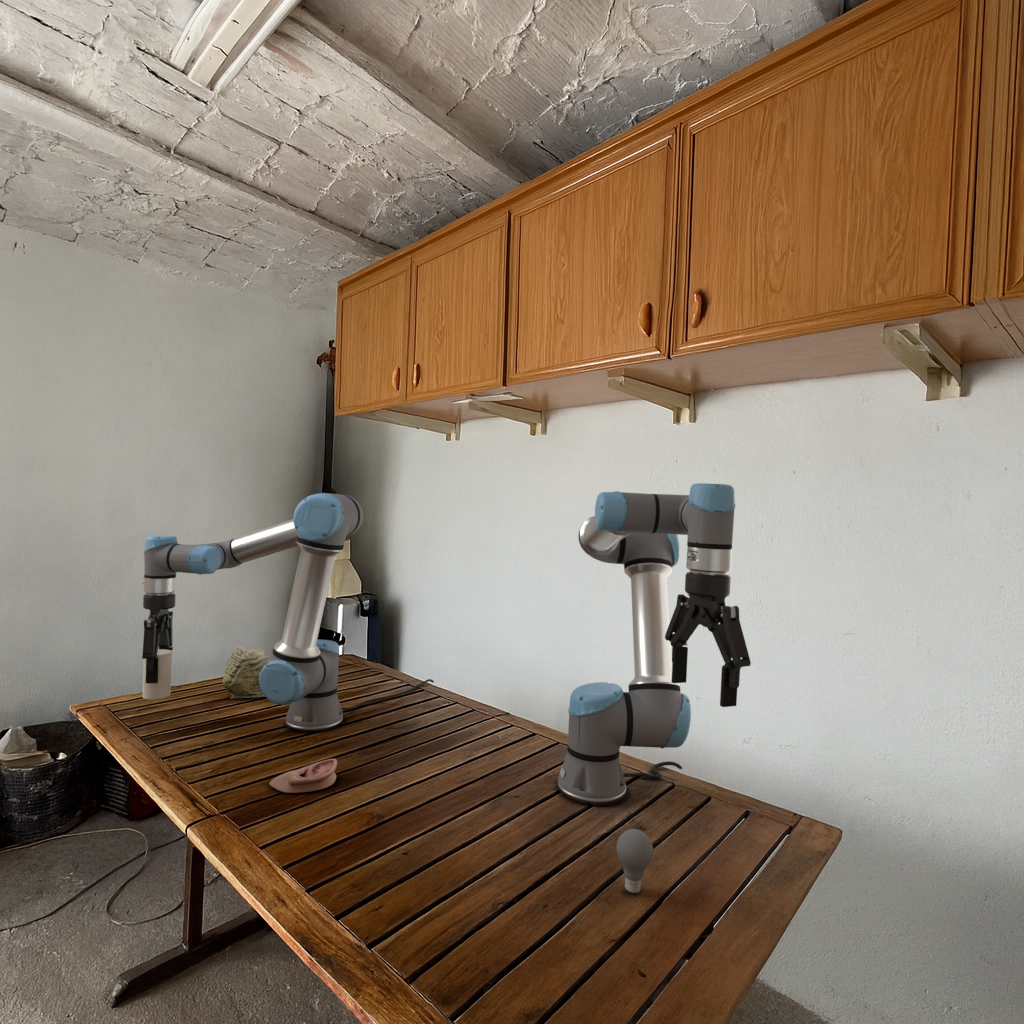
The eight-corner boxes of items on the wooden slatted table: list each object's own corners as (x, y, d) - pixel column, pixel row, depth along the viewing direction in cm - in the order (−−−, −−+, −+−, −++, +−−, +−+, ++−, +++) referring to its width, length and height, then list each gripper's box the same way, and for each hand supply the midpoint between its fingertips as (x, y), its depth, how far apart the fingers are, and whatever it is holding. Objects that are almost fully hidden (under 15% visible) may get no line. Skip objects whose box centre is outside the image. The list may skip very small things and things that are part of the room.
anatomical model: (261, 770, 135) (291, 750, 147) (261, 789, 136) (290, 767, 147) (318, 779, 133) (344, 757, 144) (318, 797, 133) (343, 775, 144)
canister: (148, 692, 172) (149, 649, 172) (174, 691, 174) (175, 649, 173) (138, 699, 166) (139, 655, 166) (165, 699, 167) (166, 655, 167)
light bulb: (610, 879, 108) (613, 822, 108) (644, 879, 109) (647, 822, 109) (619, 902, 102) (622, 840, 102) (655, 901, 103) (658, 840, 103)
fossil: (218, 695, 195) (220, 647, 195) (278, 685, 208) (279, 640, 207) (228, 703, 189) (230, 653, 188) (289, 692, 201) (290, 645, 201)
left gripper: (158, 587, 178) (156, 669, 179) (128, 598, 159) (125, 690, 159) (187, 588, 180) (185, 669, 180) (160, 599, 160) (157, 689, 161)
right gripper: (649, 564, 121) (644, 675, 121) (739, 582, 97) (732, 719, 98) (683, 564, 123) (677, 672, 124) (778, 581, 100) (771, 715, 100)
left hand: (157, 678), depth 170 cm, fingers closed on canister, 7 cm apart
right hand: (702, 693), depth 111 cm, fingers open, 13 cm apart
